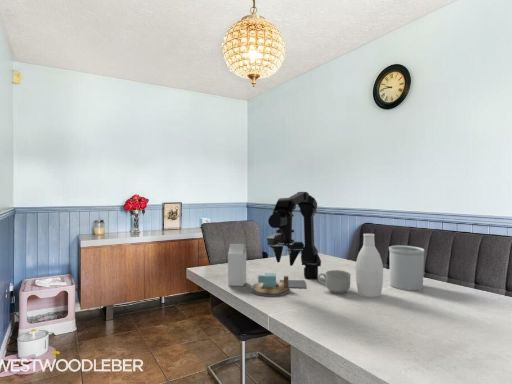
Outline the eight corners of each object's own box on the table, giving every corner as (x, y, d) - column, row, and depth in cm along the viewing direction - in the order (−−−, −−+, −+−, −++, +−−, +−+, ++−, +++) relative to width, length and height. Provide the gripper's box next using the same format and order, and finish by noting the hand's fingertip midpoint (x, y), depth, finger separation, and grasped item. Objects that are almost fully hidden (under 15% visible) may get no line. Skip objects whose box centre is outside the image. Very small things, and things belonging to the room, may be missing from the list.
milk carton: (242, 286, 149) (242, 245, 149) (228, 285, 150) (227, 245, 150) (246, 282, 156) (246, 243, 156) (232, 281, 157) (232, 242, 157)
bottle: (363, 288, 144) (362, 231, 144) (388, 294, 136) (387, 234, 136) (350, 294, 136) (350, 234, 136) (376, 300, 128) (375, 236, 128)
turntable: (288, 283, 150) (288, 272, 150) (288, 294, 134) (288, 281, 134) (254, 283, 152) (253, 271, 152) (250, 293, 136) (250, 281, 136)
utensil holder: (429, 285, 148) (428, 247, 148) (418, 293, 137) (418, 252, 137) (396, 280, 158) (395, 244, 158) (384, 286, 147) (383, 248, 147)
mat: (304, 281, 157) (304, 280, 157) (306, 288, 146) (306, 287, 146) (279, 280, 158) (279, 279, 158) (279, 287, 147) (279, 287, 147)
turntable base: (289, 285, 151) (289, 283, 151) (290, 296, 134) (290, 295, 134) (253, 284, 152) (253, 283, 152) (249, 296, 135) (249, 294, 135)
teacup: (352, 289, 143) (352, 271, 143) (348, 296, 134) (348, 277, 134) (321, 285, 149) (321, 268, 149) (315, 292, 140) (315, 274, 140)
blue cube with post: (276, 285, 145) (276, 273, 145) (275, 288, 140) (275, 276, 140) (258, 284, 146) (258, 273, 146) (257, 288, 141) (257, 276, 141)
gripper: (258, 226, 143) (257, 261, 142) (283, 228, 127) (282, 269, 126) (278, 226, 149) (277, 260, 148) (305, 228, 133) (304, 267, 132)
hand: (284, 263), depth 138 cm, fingers open, 9 cm apart
